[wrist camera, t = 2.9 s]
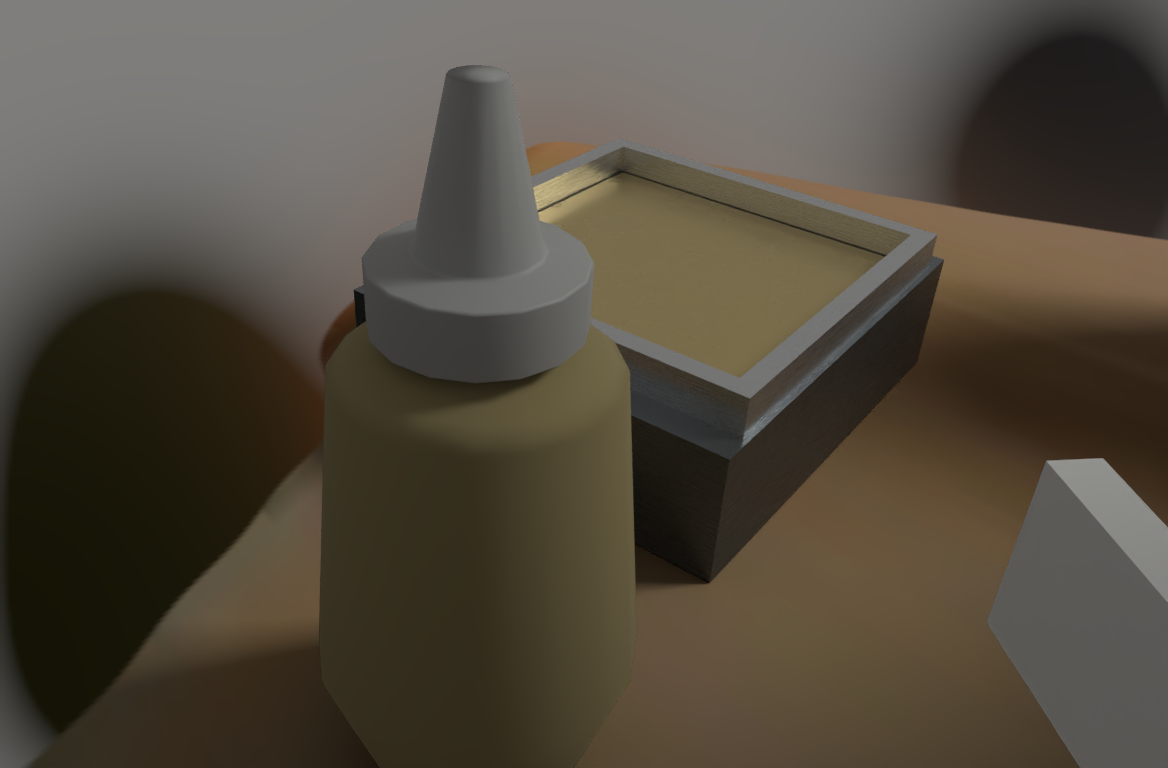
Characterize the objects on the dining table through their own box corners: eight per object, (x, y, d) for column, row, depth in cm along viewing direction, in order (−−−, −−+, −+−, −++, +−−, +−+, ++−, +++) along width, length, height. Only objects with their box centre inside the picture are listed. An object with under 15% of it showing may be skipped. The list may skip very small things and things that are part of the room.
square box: (620, 253, 54) (629, 130, 51) (917, 361, 47) (952, 226, 43) (362, 401, 42) (350, 252, 38) (709, 582, 34) (736, 418, 31)
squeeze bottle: (267, 729, 29) (155, 62, 19) (485, 582, 34) (487, -2, 24) (471, 933, 24) (464, 201, 14) (686, 727, 29) (788, 86, 20)
